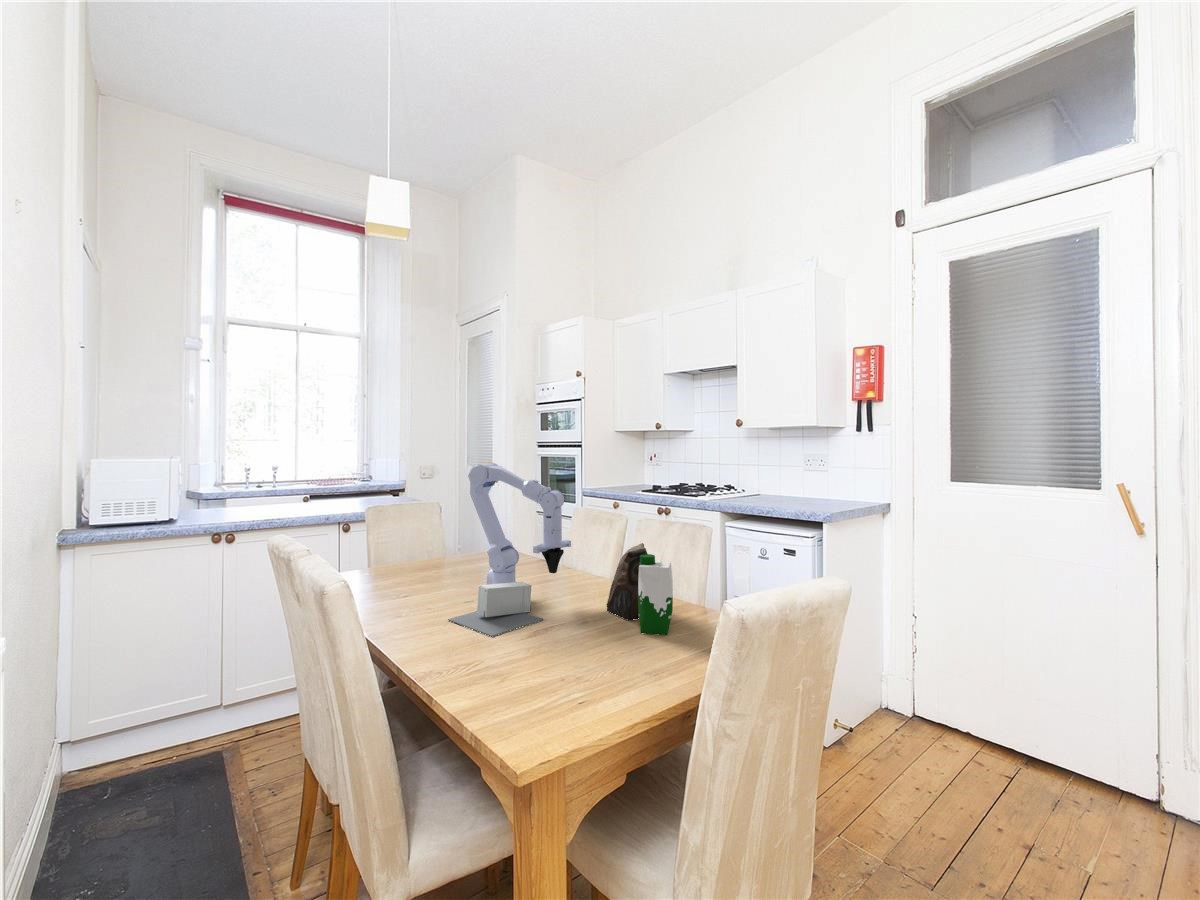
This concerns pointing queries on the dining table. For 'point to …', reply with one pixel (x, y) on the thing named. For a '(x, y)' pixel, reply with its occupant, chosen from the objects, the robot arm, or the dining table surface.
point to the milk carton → (655, 595)
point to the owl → (626, 585)
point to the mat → (494, 622)
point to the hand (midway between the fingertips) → (552, 572)
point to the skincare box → (503, 599)
